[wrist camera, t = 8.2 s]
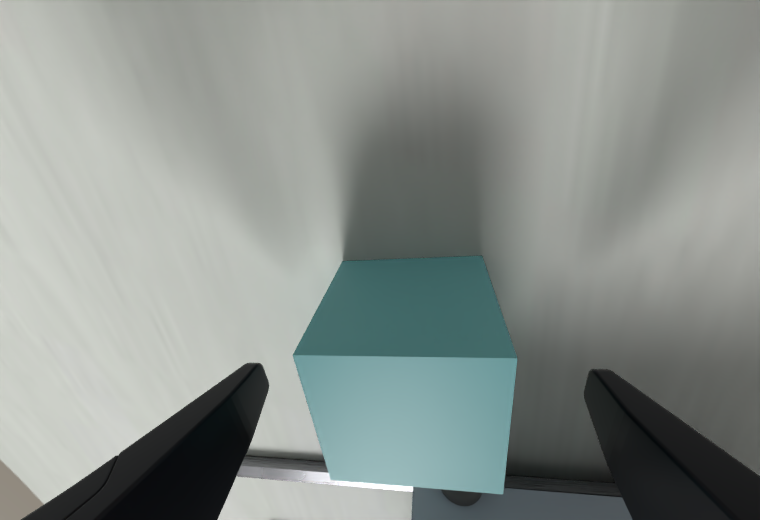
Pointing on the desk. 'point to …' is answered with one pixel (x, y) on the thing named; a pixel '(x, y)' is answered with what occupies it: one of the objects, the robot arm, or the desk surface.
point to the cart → (514, 505)
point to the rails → (319, 474)
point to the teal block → (411, 375)
